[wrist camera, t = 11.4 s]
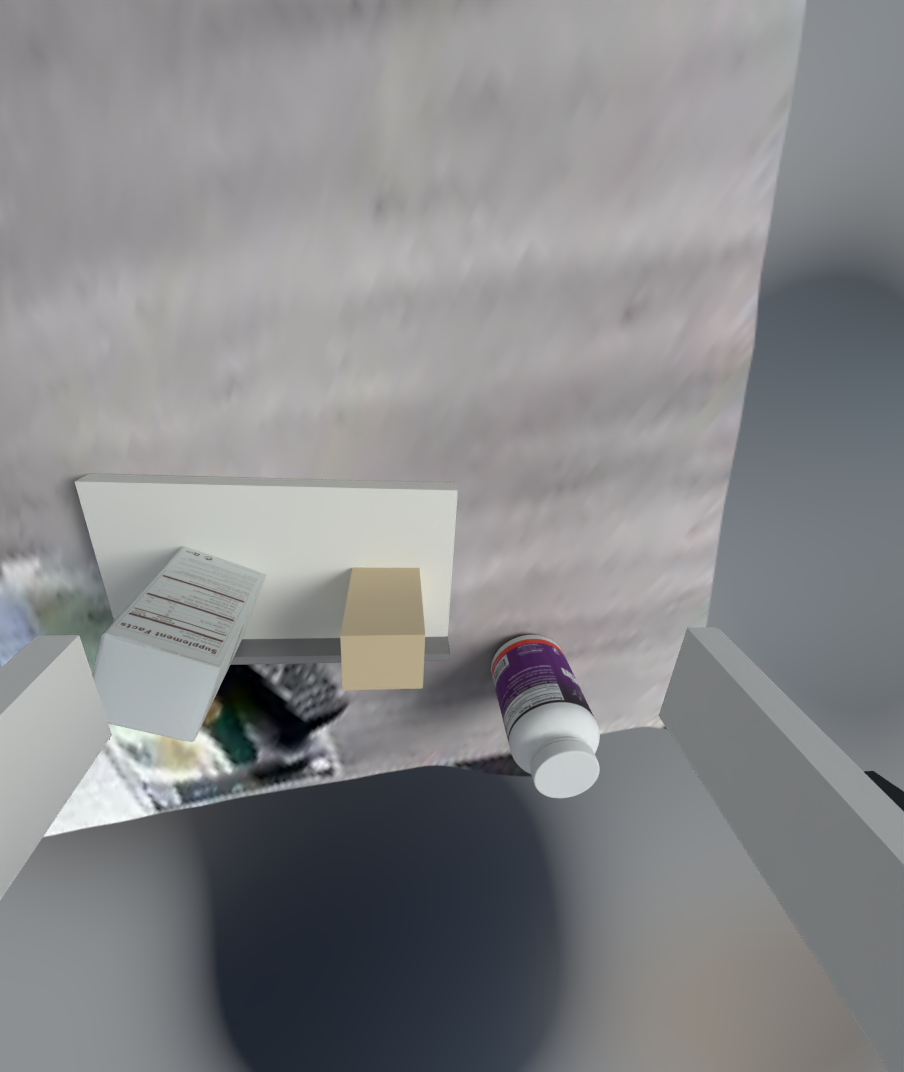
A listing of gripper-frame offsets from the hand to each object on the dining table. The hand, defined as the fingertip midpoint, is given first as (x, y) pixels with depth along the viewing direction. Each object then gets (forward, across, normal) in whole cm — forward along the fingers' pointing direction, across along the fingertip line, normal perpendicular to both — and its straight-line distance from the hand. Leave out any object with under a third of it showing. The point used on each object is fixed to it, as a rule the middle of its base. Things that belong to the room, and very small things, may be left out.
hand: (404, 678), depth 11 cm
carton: (+30, -1, -16) cm, 34 cm away
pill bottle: (+32, +14, -26) cm, 43 cm away
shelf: (+32, -10, -14) cm, 36 cm away
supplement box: (+30, -16, -16) cm, 37 cm away
